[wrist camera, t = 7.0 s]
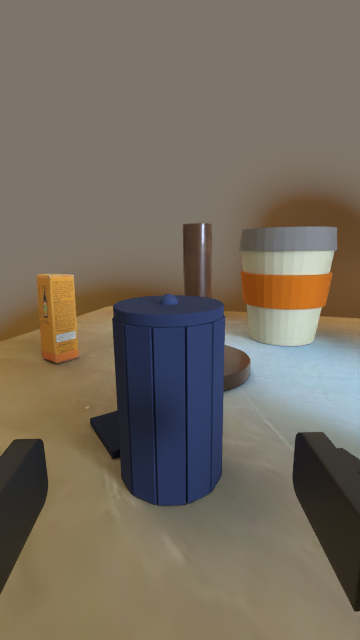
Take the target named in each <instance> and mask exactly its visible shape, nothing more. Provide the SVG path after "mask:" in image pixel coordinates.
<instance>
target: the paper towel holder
mask: <svg viewBox="0 0 360 640" xmlns="http://www.w3.org/2000/svg"><path fill="white" fill-rule="evenodd" d="M211 264H212V224H208V223H190V224H184V225H183V285H184V286H183V288H184V289H183V291H184V292H183V293H184V294H183V296H198V297H206V298H211V274H212V273H211V272H212V269H211V268H212V265H211ZM249 376H250V358H249V356H248V355H247V354H246V353H244V352H243V351H241V350H239V349H236V348H233V347H230V346H226V345H224V388H223V391H225V390H229V389H232V388H235V387H238V386H240V385H242V384H243V383H244V382H246V381H247V380H248V378H249Z"/></svg>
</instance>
